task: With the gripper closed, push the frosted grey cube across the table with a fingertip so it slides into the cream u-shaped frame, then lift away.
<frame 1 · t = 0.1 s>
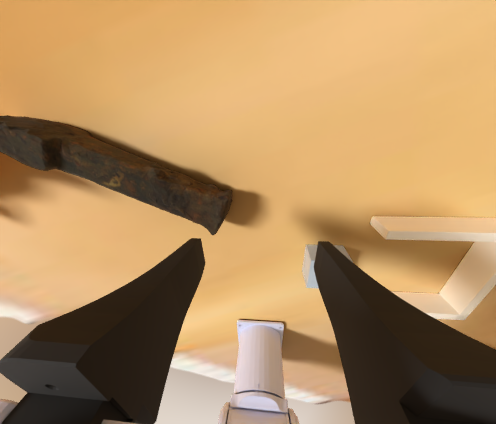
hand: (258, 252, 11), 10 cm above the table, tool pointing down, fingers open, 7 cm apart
cream u-shaped frame: (411, 261, 22), on the table
frosted grey cube: (321, 257, 24), on the table
dark brown elongated piece: (136, 169, 20), on the table
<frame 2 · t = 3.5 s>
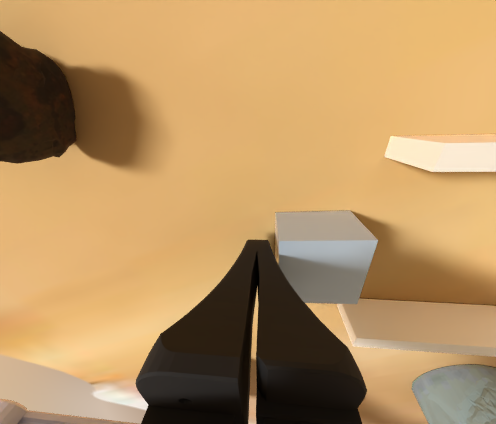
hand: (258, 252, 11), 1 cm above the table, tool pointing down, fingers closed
green embossed cup: (454, 380, 19), on the table
cream u-shaped frame: (464, 245, 11), on the table
frosted grey cube: (308, 240, 12), on the table, touching gripper
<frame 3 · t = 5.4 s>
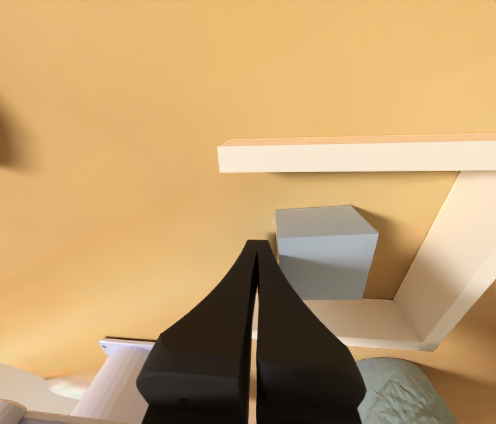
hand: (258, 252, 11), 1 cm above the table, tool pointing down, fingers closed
green embossed cup: (376, 373, 20), on the table
cream u-shaped frame: (333, 241, 12), on the table
frosted grey cube: (310, 237, 12), on the table, touching gripper
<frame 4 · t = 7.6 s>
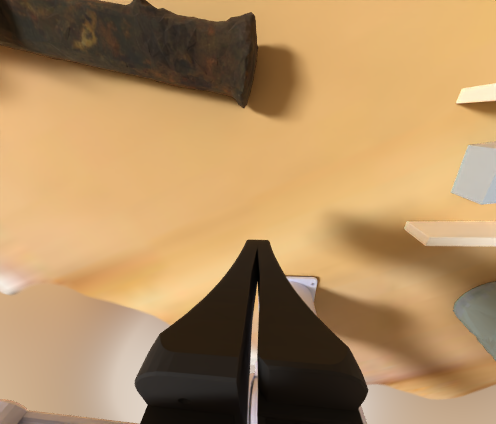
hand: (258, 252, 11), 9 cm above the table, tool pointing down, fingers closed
green embossed cup: (489, 299, 24), on the table
frosted grey cube: (484, 166, 16), on the table
dark brown elongated piece: (124, 61, 15), on the table
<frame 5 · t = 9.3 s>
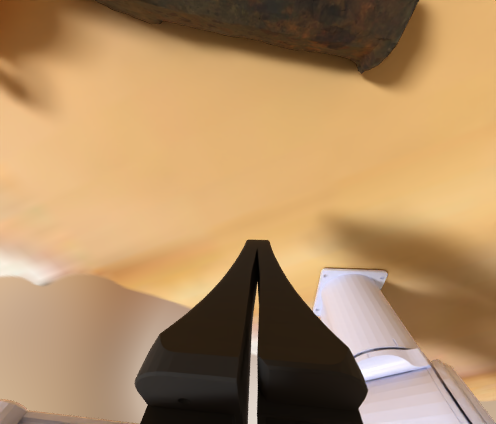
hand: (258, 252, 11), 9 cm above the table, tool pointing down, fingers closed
dark brown elongated piece: (224, 24, 14), on the table
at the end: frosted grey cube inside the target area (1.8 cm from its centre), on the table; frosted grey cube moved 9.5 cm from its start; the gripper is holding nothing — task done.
